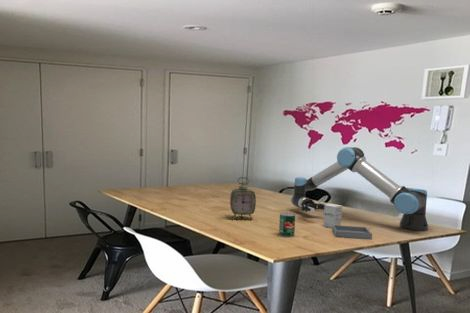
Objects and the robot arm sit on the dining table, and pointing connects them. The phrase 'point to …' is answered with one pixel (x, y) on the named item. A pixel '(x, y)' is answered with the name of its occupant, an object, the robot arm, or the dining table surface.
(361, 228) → the gray tray
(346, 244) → the dining table surface
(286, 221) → the canned tomato
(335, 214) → the supplement box
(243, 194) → the tabletop clock
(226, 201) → the dining table surface
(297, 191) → the robot arm
